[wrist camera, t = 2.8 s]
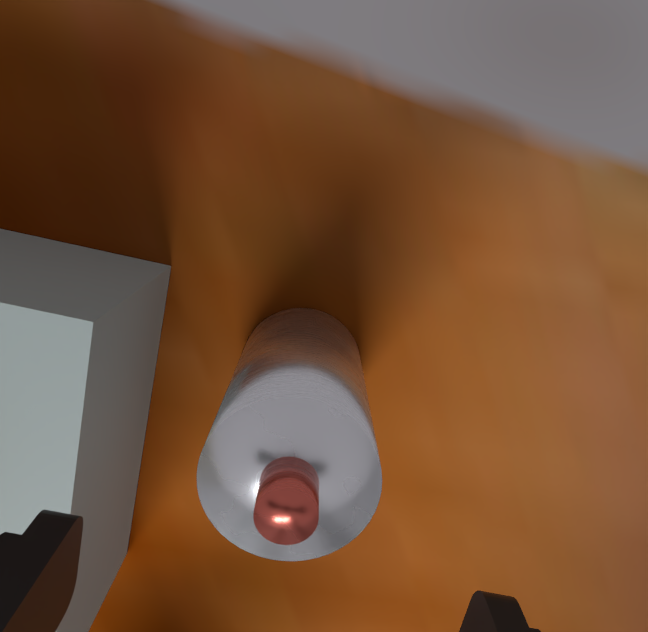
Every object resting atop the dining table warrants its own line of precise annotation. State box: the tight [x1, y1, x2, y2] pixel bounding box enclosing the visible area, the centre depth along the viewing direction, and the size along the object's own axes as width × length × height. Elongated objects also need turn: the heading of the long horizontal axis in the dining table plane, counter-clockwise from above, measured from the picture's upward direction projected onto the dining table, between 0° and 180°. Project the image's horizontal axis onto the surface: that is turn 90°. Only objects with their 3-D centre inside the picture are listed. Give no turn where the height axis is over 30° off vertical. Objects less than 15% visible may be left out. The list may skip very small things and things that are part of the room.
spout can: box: [197, 308, 382, 561], centre depth 19 cm, size 5×5×10 cm
